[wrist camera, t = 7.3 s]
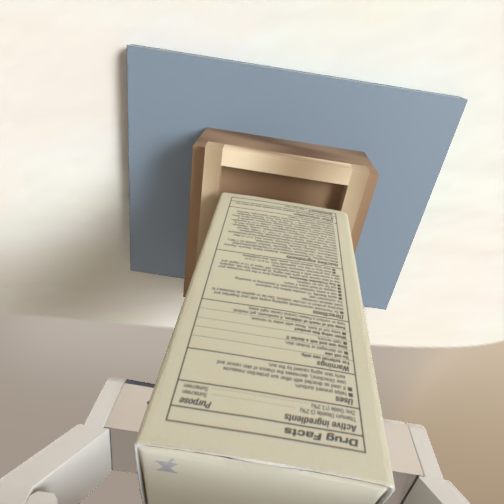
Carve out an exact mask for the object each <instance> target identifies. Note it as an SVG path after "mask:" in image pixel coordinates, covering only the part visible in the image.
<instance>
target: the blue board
mask: <svg viewBox="0 0 504 504" xmlns="http://www.w3.org/2000/svg"><path fill="white" fill-rule="evenodd" d="M127 80H128V139H129V197H130V256H131V270H132V271H139V272H145V273H152V274H158V275H165V276H171V277H178V278H184V279H185V264H186V249H187V233H188V218H189V202H190V187H191V171H192V156H193V145H194V144H195V142H196V141H197V140H198V138H199V137H200V136H201V135H202V133H203V132H204V131H205V129H206V128H207V127H209V128H216V129H222V130H228V131H234V132H241V133H247V134H253V135H260V136H266V137H272V138H279V139H285V140H291V141H298V142H304V143H310V144H317V145H323V146H329V147H335V148H342V149H348V150H354V151H361V152H365V154H366V155H367V157H368V158H369V160H370V161H371V163H372V164H373V166H374V167H375V169H376V170H377V172H378V174H379V178H378V181H377V184H376V187H375V190H374V194H373V197H372V200H371V203H370V206H369V210H368V213H367V216H366V219H365V222H364V226H363V229H362V232H361V235H360V238H359V242H358V245H357V248H356V251H355V254H354V255H355V260H356V266H357V273H358V278H359V284H360V290H361V296H362V302H363V306H366V307H372V308H378V309H385V310H386V308H387V305H388V303H389V300H390V298H391V295H392V292H393V290H394V287H395V285H396V282H397V280H398V277H399V275H400V272H401V269H402V267H403V264H404V262H405V259H406V257H407V254H408V251H409V249H410V246H411V244H412V241H413V239H414V236H415V234H416V231H417V228H418V226H419V223H420V221H421V218H422V216H423V213H424V210H425V208H426V205H427V203H428V200H429V198H430V195H431V193H432V190H433V187H434V185H435V182H436V180H437V177H438V175H439V172H440V170H441V167H442V164H443V162H444V159H445V157H446V154H447V152H448V149H449V146H450V144H451V141H452V139H453V136H454V134H455V131H456V129H457V126H458V123H459V121H460V118H461V116H462V113H463V111H464V108H465V105H466V103H467V99H464V98H462V97H458V96H451V95H445V94H439V93H433V92H427V91H420V90H414V89H408V88H402V87H395V86H389V85H383V84H377V83H370V82H364V81H358V80H352V79H345V78H339V77H333V76H327V75H320V74H314V73H308V72H302V71H295V70H289V69H283V68H277V67H270V66H264V65H258V64H252V63H246V62H239V61H233V60H227V59H221V58H214V57H208V56H202V55H196V54H189V53H183V52H177V51H171V50H164V49H158V48H152V47H146V46H139V45H127Z"/></svg>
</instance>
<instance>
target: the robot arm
mask: <svg viewBox="0 0 504 504" xmlns="http://www.w3.org/2000/svg"><path fill="white" fill-rule="evenodd" d="M154 386H155V384H150V383H145V382H139V381H134V380H128V379H122V378H115V377H109V378H108V379H107V381H106V382H105V384H104V386H103V388H102V390H101V392H100V394H99V396H98V398H97V400H96V402H95V404H94V406H93V407H92V409H91V411H90V413H89V415H88V417H87V419H86V421H85V423H84V424H78V425H77V426H75V427H74V428H72V429H71V430H69V431H68V432H66V433H65V434H63V435H62V436H61V437H59V438H58V439H56V440H55V441H54V442H52V443H51V444H49V445H48V446H47V447H45V448H44V449H42V450H41V451H39V452H38V453H36V454H35V455H34V456H32V457H31V458H29V459H28V460H26V461H25V462H24V463H22V464H21V465H19V466H18V467H16V468H15V469H14V470H12V471H11V472H9V473H8V474H7V475H5V476H4V477H2V478H1V479H0V504H80V503H81V502H82V501H83V500H84V499H85V498H86V497H87V496H88V495H89V494H90V493H91V492H92V491H93V490H94V489H95V488H96V487H97V486H98V485H99V484H100V483H101V482H102V481H103V480H104V479H105V478H106V477H107V476H108V475H109V474H110V473H111V472H112V470H115V471H123V472H132V473H137V464H136V457H135V447H134V443H135V440H136V437H137V434H138V432H139V429H140V426H141V423H142V420H143V417H144V415H145V412H146V409H147V406H148V403H149V400H150V397H151V395H152V392H153V389H154ZM383 423H384V429H385V435H386V440H387V446H388V451H389V457H390V462H391V468H392V473H393V478H394V484H395V491H394V492H393V493H392V495H391V496H390V497H389V498H388V500H387V501H386V502H385V503H384V504H470V503H469V502H468V501H467V499H465V497H464V496H463V495H462V494H461V493H460V492H459V491H458V490H457V489H456V488H455V487H454V486H453V485H452V483H451V482H450V481H447V480H444V479H443V476H442V473H441V471H440V468H439V465H438V463H437V460H436V457H435V454H434V451H433V449H432V446H431V443H430V440H429V438H428V435H427V432H426V430H425V428H424V427H423V425H419V424H411V423H404V422H401V421H394V420H387V419H383Z"/></svg>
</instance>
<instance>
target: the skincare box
mask: <svg viewBox="0 0 504 504" xmlns="http://www.w3.org/2000/svg"><path fill="white" fill-rule="evenodd" d="M134 447H135V457H136V464H137V474H138V480H139V486H140V494H141V498H142V503H143V504H384V503H385V502H386V501H387V500H388V498H389V497H390V496H391V495H392V493H393V492H394V491H395V484H394V478H393V473H392V468H391V462H390V457H389V451H388V446H387V440H386V435H385V429H384V423H383V417H382V411H381V406H380V401H379V395H378V390H377V383H376V378H375V371H374V365H373V360H372V354H371V348H370V342H369V336H368V330H367V325H366V319H365V313H364V307H363V302H362V296H361V290H360V284H359V278H358V273H357V266H356V260H355V255H354V250H353V243H352V238H351V232H350V226H349V220H348V215H347V214H346V213H345V212H343V211H337V210H332V209H326V208H321V207H315V206H310V205H304V204H298V203H291V202H285V201H279V200H274V199H268V198H261V197H256V196H248V195H240V194H233V193H226V192H225V193H222V194H221V196H220V198H219V201H218V204H217V207H216V210H215V213H214V215H213V218H212V221H211V224H210V227H209V230H208V233H207V236H206V239H205V242H204V245H203V248H202V250H201V253H200V256H199V259H198V262H197V265H196V268H195V270H194V273H193V276H192V279H191V282H190V285H189V288H188V291H187V294H186V296H185V299H184V302H183V305H182V308H181V310H180V314H179V317H178V320H177V323H176V325H175V328H174V332H173V334H172V337H171V340H170V343H169V346H168V348H167V351H166V354H165V357H164V360H163V363H162V366H161V369H160V371H159V375H158V377H157V381H156V383H155V386H154V389H153V392H152V395H151V397H150V400H149V403H148V406H147V409H146V412H145V415H144V417H143V420H142V423H141V426H140V429H139V432H138V434H137V437H136V440H135V443H134Z"/></svg>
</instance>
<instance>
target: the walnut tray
mask: <svg viewBox="0 0 504 504" xmlns="http://www.w3.org/2000/svg"><path fill="white" fill-rule="evenodd" d="M378 178H379V174H378V172H377V170H376V169H375V167H374V166H373V164H372V163H371V161H370V160H369V158H368V157H367V155H366V154H365V152H361V151H354V150H348V149H342V148H335V147H329V146H323V145H317V144H310V143H304V142H298V141H291V140H285V139H279V138H272V137H266V136H260V135H253V134H247V133H241V132H234V131H228V130H222V129H216V128H209V127H207V128H206V129H205V131H204V132H203V133H202V135H201V136H200V137H199V138H198V140H197V141H196V142H195V144H194V145H193V156H192V171H191V187H190V202H189V218H188V233H187V249H186V264H185V279H184V295H183V297H185V296H186V294H187V291H188V288H189V285H190V282H191V279H192V276H193V273H194V270H195V268H196V265H197V262H198V259H199V256H200V253H201V250H202V248H203V245H204V242H205V239H206V236H207V233H208V230H209V227H210V224H211V221H212V218H213V215H214V213H215V210H216V207H217V204H218V201H219V198H220V196H221V194H222V193H225V192H226V193H233V194H240V195H248V196H256V197H261V198H268V199H274V200H279V201H285V202H291V203H298V204H304V205H310V206H315V207H321V208H326V209H332V210H337V211H343V212H345V213H346V214H347V215H348V220H349V226H350V232H351V238H352V243H353V250H354V254H355V251H356V248H357V245H358V242H359V238H360V235H361V232H362V229H363V226H364V222H365V219H366V216H367V213H368V210H369V206H370V203H371V200H372V197H373V194H374V190H375V187H376V184H377V181H378Z"/></svg>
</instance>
